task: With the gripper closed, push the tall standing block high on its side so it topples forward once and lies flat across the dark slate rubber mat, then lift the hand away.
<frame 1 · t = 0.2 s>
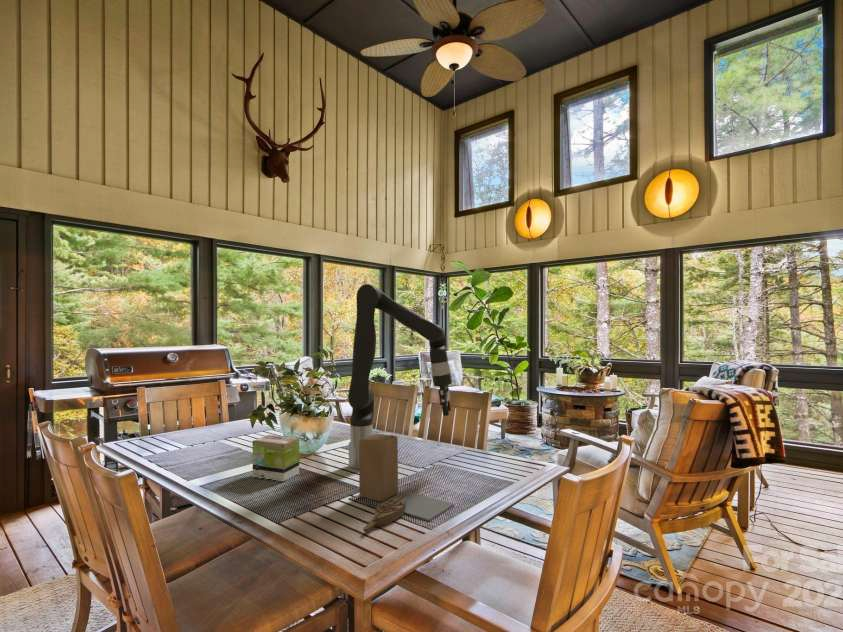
hand: (447, 413, 182), 22 cm above the table, tool pointing down, fingers open, 8 cm apart
block: (379, 496, 155), on the table
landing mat: (416, 505, 146), on the table
leaf carving: (385, 519, 136), on the table, touching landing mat
tea box: (276, 477, 176), on the table
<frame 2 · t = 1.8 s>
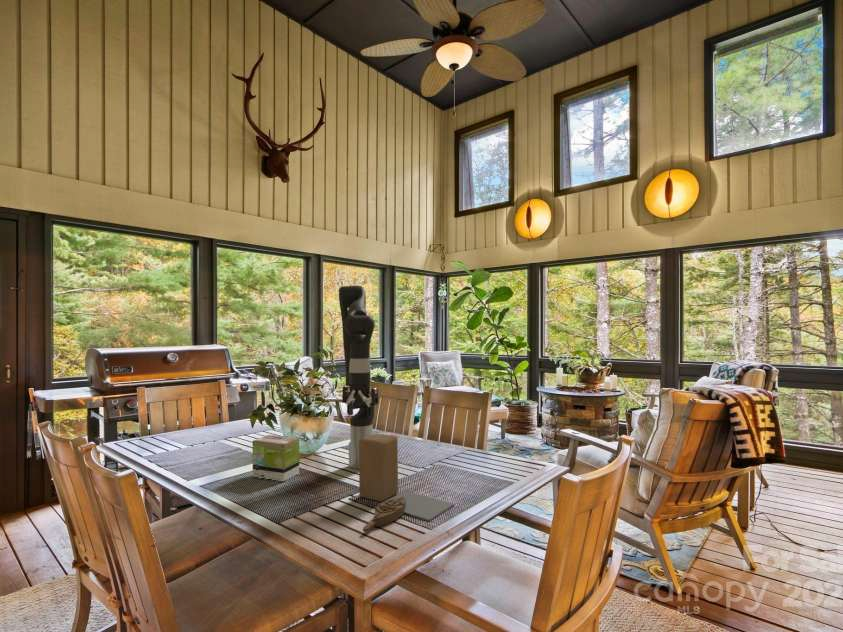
hand: (360, 416, 162), 26 cm above the table, tool pointing down, fingers open, 8 cm apart
nothing on the table moved.
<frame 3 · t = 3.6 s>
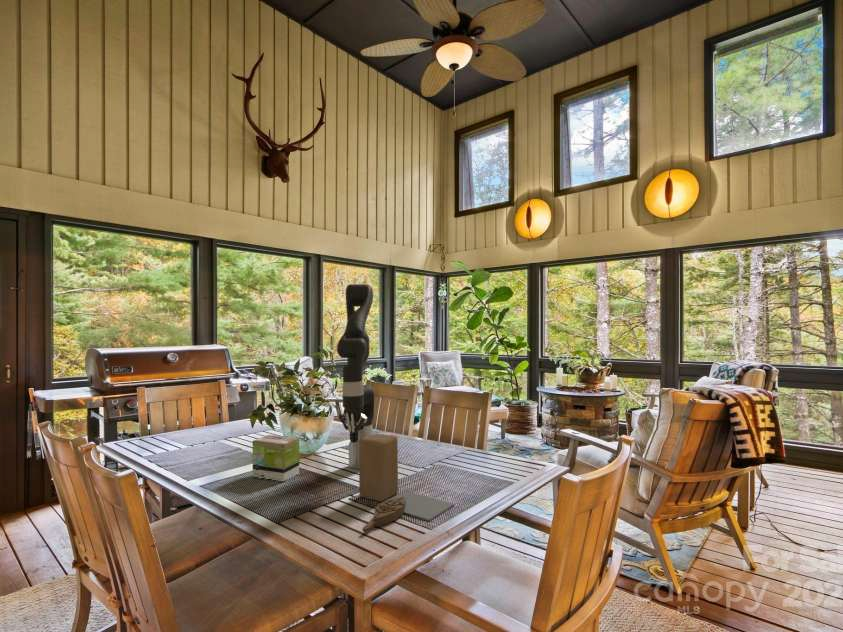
hand: (354, 442, 162), 17 cm above the table, tool pointing down, fingers closed
nothing on the table moved.
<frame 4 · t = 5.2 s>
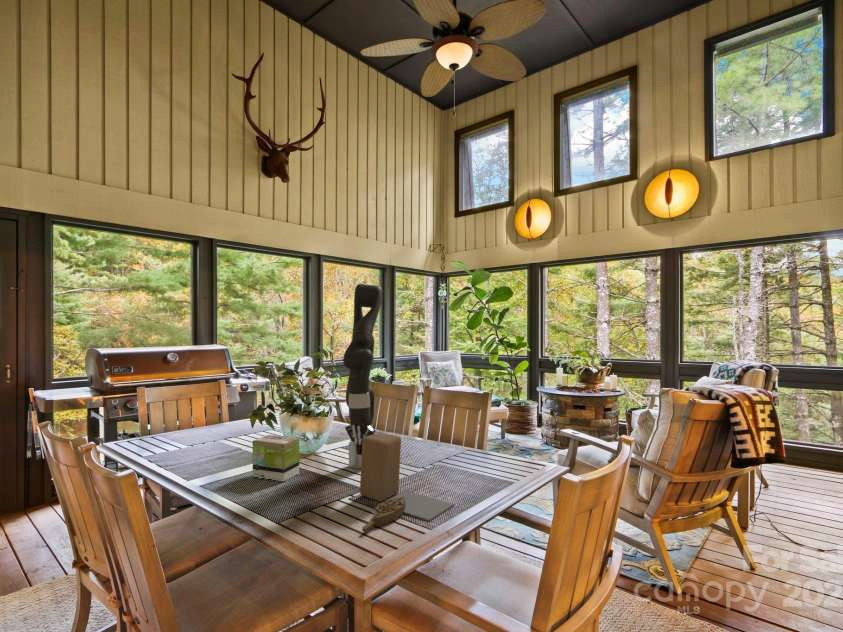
hand: (360, 454, 161), 13 cm above the table, tool pointing down, fingers closed
block: (379, 494, 155), on the table, touching hand
everything else where it was.
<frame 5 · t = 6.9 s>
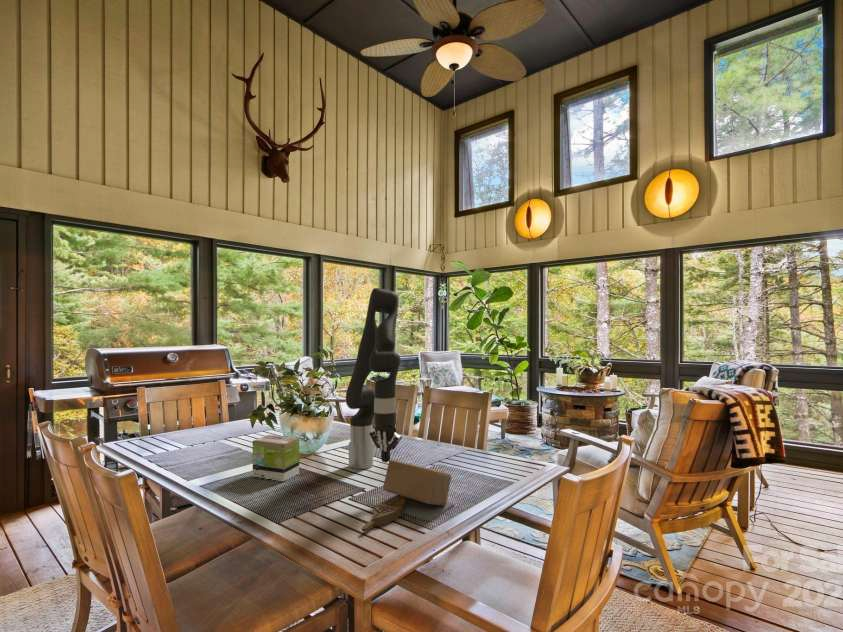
hand: (385, 461, 153), 12 cm above the table, tool pointing down, fingers closed
block: (393, 475, 155), point 7 cm above the table, touching gripper
everything else where it was.
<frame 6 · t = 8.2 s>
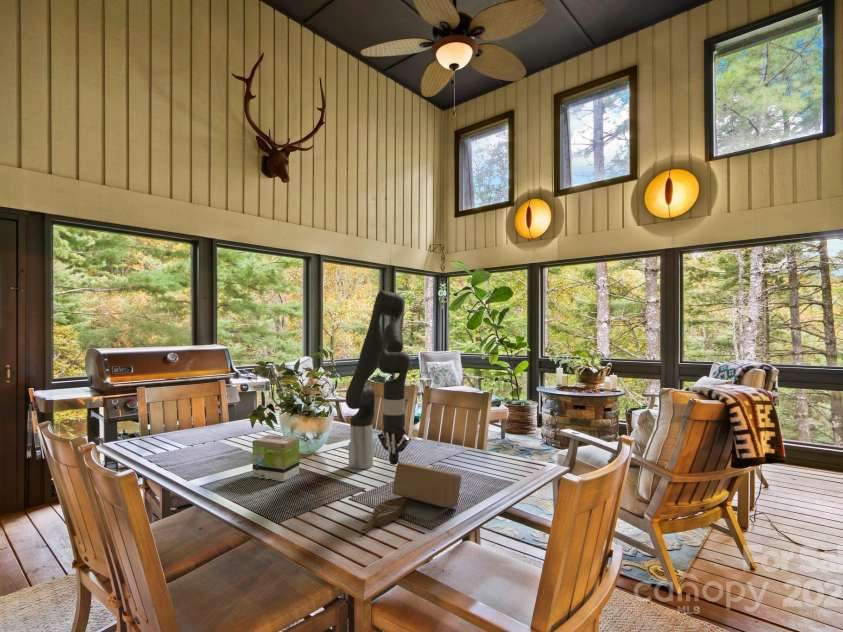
hand: (393, 463, 151), 12 cm above the table, tool pointing down, fingers closed
block: (401, 478, 153), point 7 cm above the table, touching gripper, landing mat
everything else where it was.
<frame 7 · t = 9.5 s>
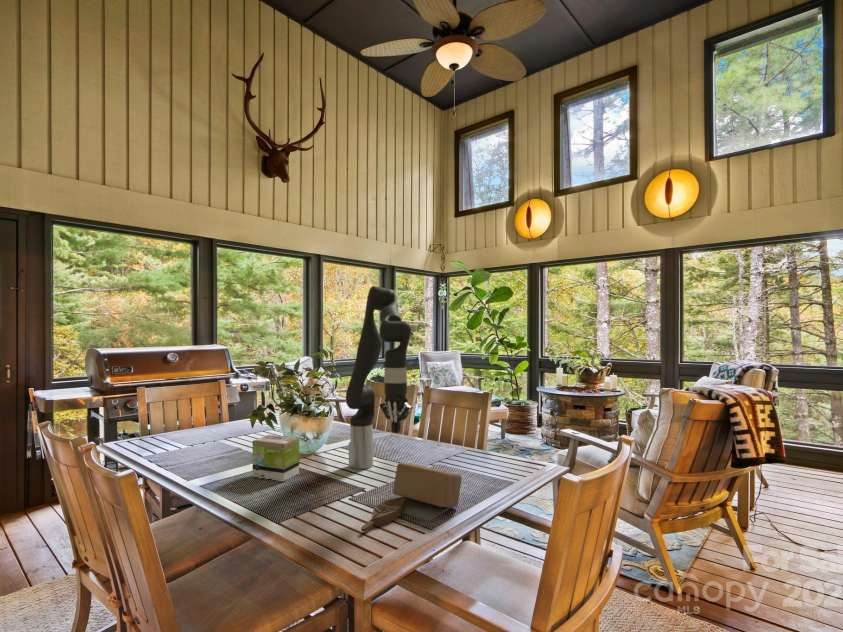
hand: (395, 432, 151), 23 cm above the table, tool pointing down, fingers closed
block: (402, 478, 153), point 7 cm above the table, touching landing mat
everything else where it was.
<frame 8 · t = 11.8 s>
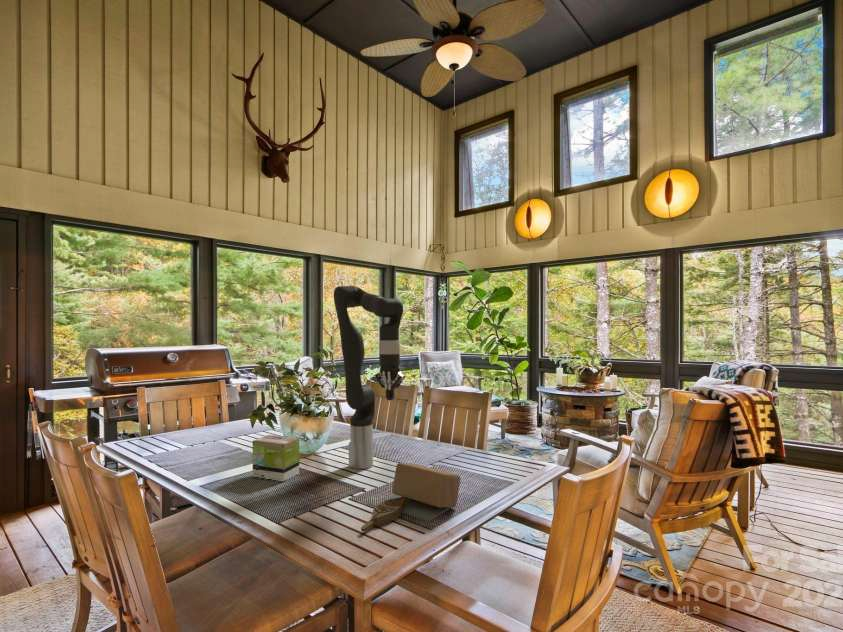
hand: (390, 399, 165), 31 cm above the table, tool pointing down, fingers closed
block: (402, 477, 153), point 7 cm above the table, touching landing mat, leaf carving
leaf carving: (383, 518, 136), on the table, touching block, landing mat
everything else where it was.
at the end: block tilted 90°; block inside the target area (3.1 cm from its centre), point 6.6 cm above the table; block touching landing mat, leaf carving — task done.
